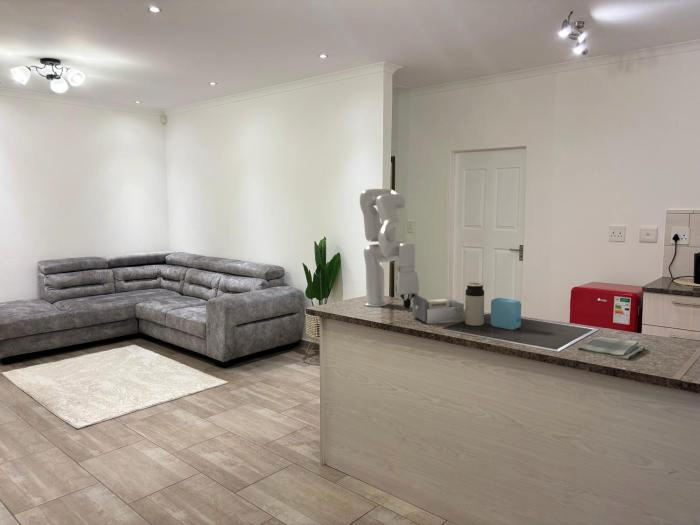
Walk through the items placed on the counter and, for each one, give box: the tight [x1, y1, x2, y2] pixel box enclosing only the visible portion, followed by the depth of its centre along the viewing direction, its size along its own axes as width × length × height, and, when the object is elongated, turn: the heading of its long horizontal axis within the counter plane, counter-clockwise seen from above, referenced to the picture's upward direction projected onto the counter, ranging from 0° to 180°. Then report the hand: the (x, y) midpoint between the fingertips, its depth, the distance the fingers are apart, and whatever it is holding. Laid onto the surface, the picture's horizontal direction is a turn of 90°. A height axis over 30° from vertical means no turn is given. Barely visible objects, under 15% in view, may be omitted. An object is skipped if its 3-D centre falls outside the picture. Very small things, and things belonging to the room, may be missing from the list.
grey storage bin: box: [424, 296, 465, 325], centre depth 247 cm, size 16×18×8 cm
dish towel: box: [577, 336, 646, 361], centre depth 195 cm, size 19×18×3 cm
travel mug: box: [464, 281, 485, 327], centre depth 235 cm, size 8×8×18 cm
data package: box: [490, 297, 522, 331], centre depth 229 cm, size 12×4×12 cm, turn 43°
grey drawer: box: [411, 294, 451, 323], centre depth 246 cm, size 15×18×10 cm
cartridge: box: [426, 298, 449, 309], centre depth 246 cm, size 5×10×6 cm, turn 103°
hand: (407, 308), depth 249 cm, fingers closed
